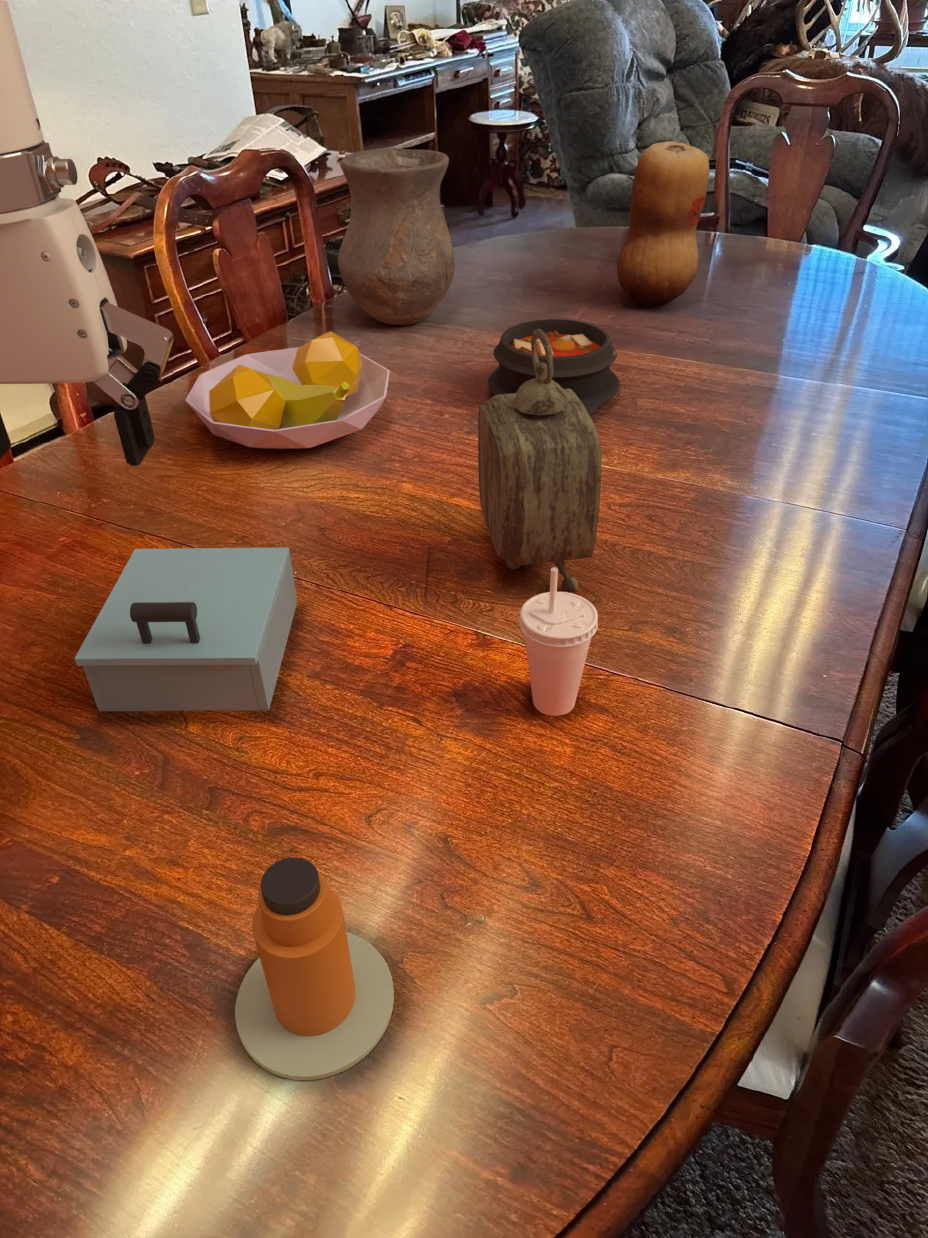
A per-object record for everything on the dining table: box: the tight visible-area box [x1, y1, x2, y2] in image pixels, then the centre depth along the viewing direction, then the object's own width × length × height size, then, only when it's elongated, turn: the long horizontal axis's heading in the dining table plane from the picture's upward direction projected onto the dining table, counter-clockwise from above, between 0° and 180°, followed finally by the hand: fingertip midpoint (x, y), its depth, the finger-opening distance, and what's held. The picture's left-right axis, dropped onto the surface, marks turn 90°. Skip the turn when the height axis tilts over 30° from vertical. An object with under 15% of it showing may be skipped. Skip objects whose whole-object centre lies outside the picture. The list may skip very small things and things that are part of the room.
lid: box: [73, 546, 291, 667], centre depth 80 cm, size 17×15×5 cm
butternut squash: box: [616, 140, 710, 306], centre depth 153 cm, size 14×13×25 cm
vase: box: [337, 147, 456, 326], centre depth 149 cm, size 20×19×25 cm
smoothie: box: [518, 566, 599, 717], centre depth 76 cm, size 6×6×14 cm
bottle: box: [251, 856, 356, 1036], centre depth 55 cm, size 5×5×12 cm
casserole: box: [487, 318, 621, 417], centre depth 129 cm, size 25×19×8 cm
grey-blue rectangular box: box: [82, 554, 298, 712], centre depth 84 cm, size 16×15×6 cm
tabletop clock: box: [477, 329, 602, 593], centre depth 90 cm, size 14×9×25 cm, turn 9°
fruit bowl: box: [184, 330, 391, 450], centre depth 120 cm, size 28×27×11 cm
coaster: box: [234, 931, 395, 1081], centre depth 59 cm, size 10×10×1 cm
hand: (69, 457), depth 62 cm, fingers open, 9 cm apart
